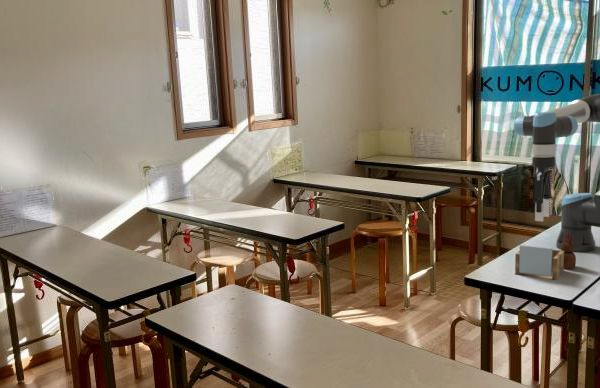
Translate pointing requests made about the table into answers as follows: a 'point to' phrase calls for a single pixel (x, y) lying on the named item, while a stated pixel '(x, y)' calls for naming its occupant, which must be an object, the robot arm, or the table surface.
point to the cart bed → (556, 265)
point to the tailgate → (535, 260)
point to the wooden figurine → (568, 252)
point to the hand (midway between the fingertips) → (542, 218)
